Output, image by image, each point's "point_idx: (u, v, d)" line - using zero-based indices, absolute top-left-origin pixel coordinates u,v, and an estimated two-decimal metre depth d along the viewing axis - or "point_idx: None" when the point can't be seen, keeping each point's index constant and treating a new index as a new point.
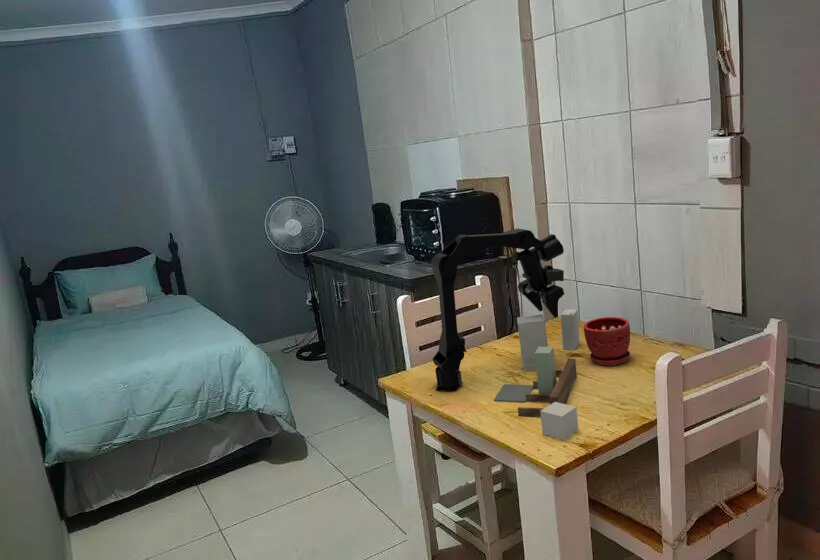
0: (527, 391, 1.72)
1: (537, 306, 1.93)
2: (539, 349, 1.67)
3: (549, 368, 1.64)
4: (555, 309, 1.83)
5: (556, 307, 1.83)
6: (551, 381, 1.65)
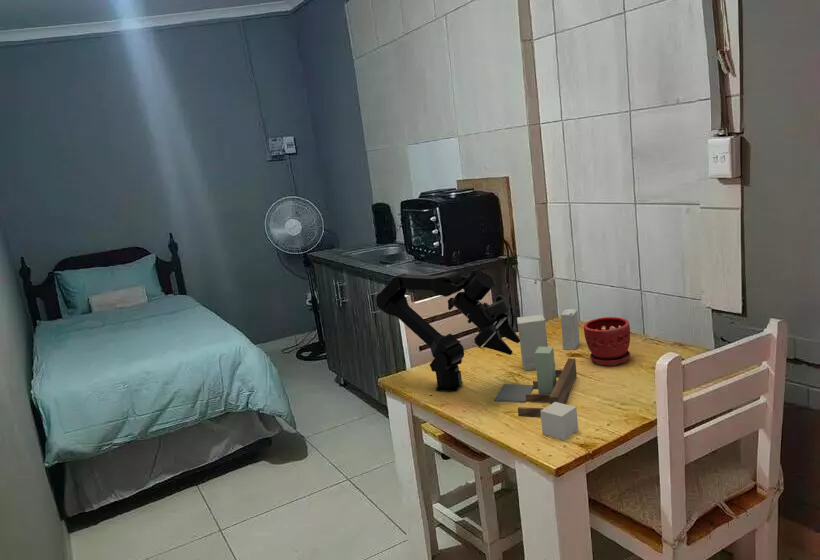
0: (527, 391, 1.72)
1: (511, 339, 1.74)
2: (539, 349, 1.67)
3: (549, 368, 1.64)
4: (503, 347, 1.65)
5: (502, 345, 1.65)
6: (551, 381, 1.65)
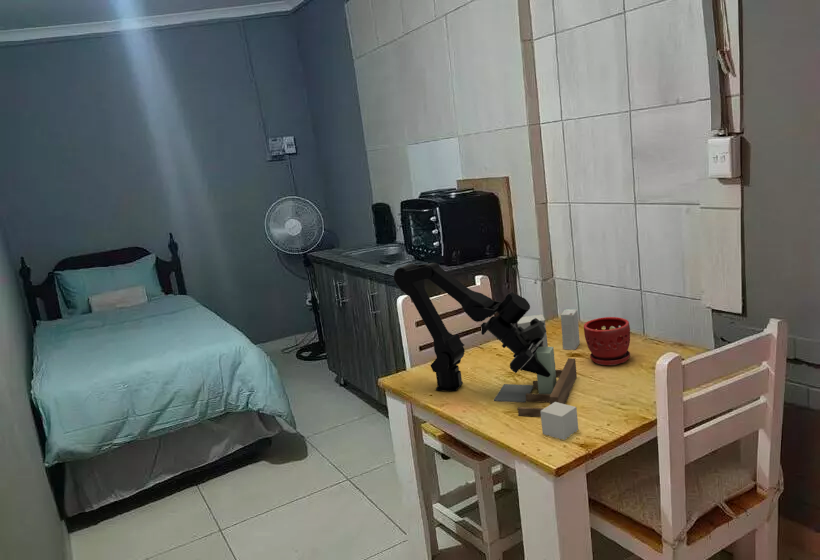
0: (527, 391, 1.72)
1: None
2: (539, 349, 1.67)
3: (549, 368, 1.64)
4: (541, 369, 1.64)
5: (540, 367, 1.64)
6: (551, 381, 1.65)
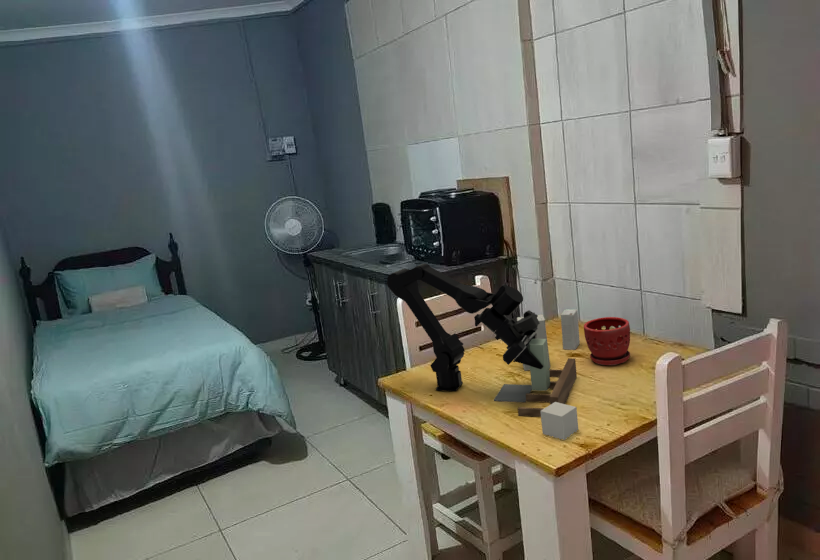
0: (527, 391, 1.72)
1: None
2: (532, 341, 1.67)
3: (542, 360, 1.64)
4: (533, 361, 1.64)
5: (533, 359, 1.64)
6: (544, 373, 1.65)
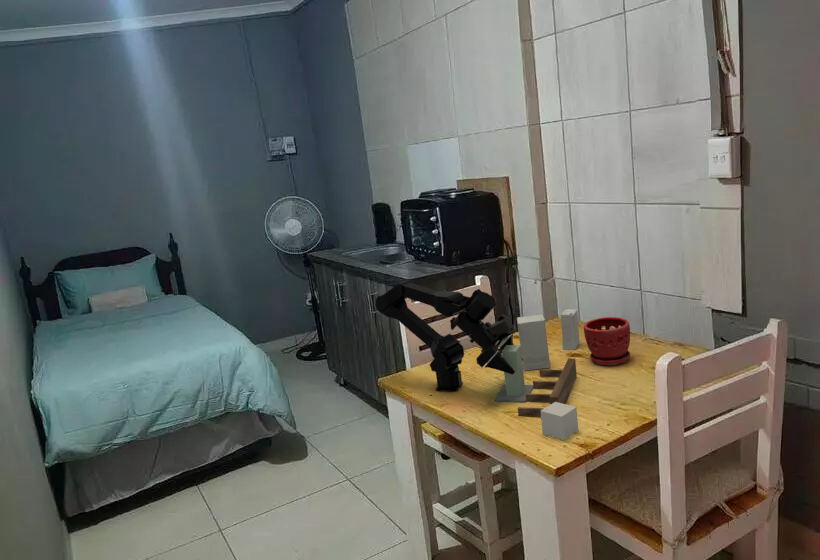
0: (527, 391, 1.72)
1: None
2: (507, 347, 1.71)
3: (515, 366, 1.68)
4: (505, 367, 1.66)
5: (505, 365, 1.65)
6: (518, 379, 1.68)
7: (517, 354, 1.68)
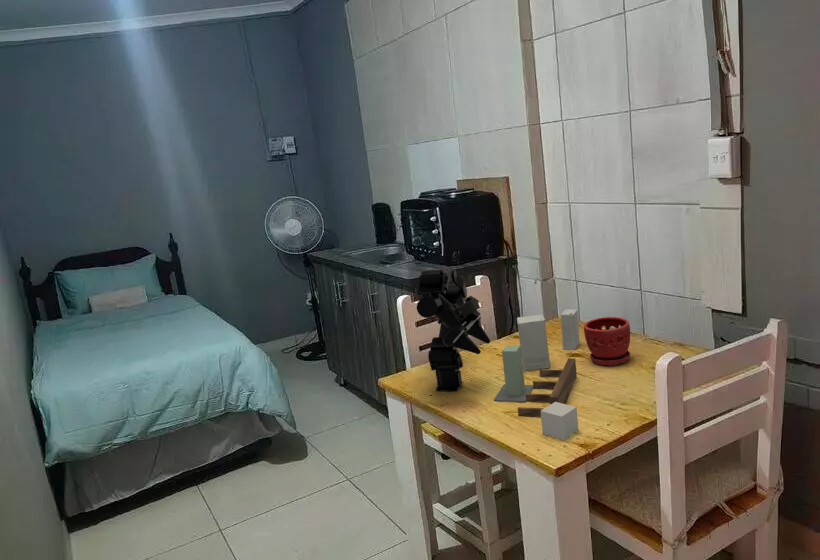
0: (527, 391, 1.72)
1: (482, 339, 1.77)
2: (507, 347, 1.71)
3: (515, 366, 1.68)
4: (471, 346, 1.68)
5: (470, 344, 1.68)
6: (518, 379, 1.68)
7: (517, 354, 1.68)
